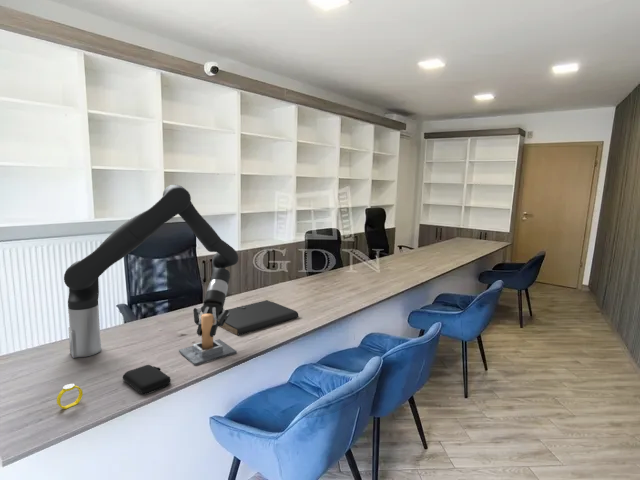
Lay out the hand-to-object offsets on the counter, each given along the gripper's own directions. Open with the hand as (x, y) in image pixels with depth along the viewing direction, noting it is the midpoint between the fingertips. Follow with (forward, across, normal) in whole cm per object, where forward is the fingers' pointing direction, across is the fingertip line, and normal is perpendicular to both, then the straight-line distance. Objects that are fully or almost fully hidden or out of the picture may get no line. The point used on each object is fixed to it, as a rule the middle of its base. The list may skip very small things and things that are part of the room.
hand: (205, 335), depth 137 cm
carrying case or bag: (+20, -10, -9) cm, 24 cm away
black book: (-22, +8, +33) cm, 41 cm away
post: (+2, 0, +5) cm, 5 cm away
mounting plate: (+4, 0, +6) cm, 8 cm away
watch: (+30, -25, -20) cm, 44 cm away
